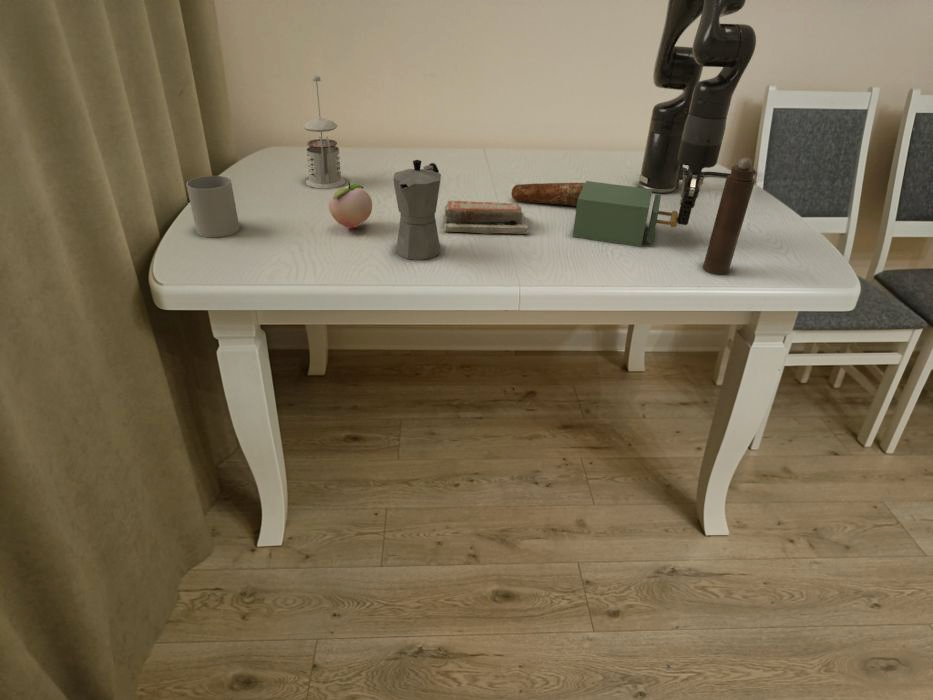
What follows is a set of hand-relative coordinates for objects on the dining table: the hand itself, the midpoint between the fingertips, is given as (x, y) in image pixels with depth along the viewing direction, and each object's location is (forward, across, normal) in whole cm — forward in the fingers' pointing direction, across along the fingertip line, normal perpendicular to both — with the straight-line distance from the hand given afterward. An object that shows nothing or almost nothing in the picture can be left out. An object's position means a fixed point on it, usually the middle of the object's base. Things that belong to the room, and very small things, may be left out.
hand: (682, 223), depth 130 cm
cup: (+4, -30, +92) cm, 97 cm away
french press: (+4, +6, +86) cm, 86 cm away
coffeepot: (+4, -24, +50) cm, 55 cm away
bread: (+4, +12, +30) cm, 32 cm away
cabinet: (+4, 0, +14) cm, 15 cm away
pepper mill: (+4, -12, -7) cm, 15 cm away
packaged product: (+4, -7, +41) cm, 42 cm away
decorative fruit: (+4, -19, +67) cm, 69 cm away
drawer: (+3, 0, +10) cm, 10 cm away
